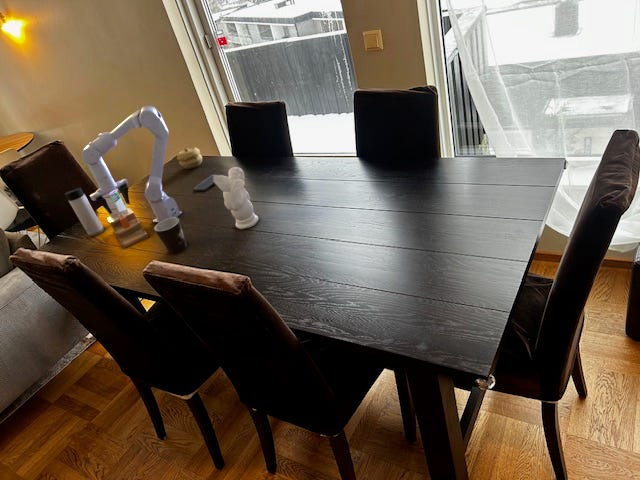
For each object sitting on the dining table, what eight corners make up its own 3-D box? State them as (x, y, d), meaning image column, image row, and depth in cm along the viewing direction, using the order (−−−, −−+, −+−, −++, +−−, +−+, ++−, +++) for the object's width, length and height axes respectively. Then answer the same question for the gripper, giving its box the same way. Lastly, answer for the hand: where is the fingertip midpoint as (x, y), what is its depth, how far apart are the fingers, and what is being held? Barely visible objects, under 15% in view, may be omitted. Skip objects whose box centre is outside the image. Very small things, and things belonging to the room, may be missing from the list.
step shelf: (148, 237, 171) (141, 222, 168) (124, 248, 167) (116, 234, 164) (137, 221, 186) (130, 207, 183) (114, 231, 182) (106, 217, 179)
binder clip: (130, 226, 173) (125, 215, 171) (124, 229, 172) (119, 218, 170) (128, 222, 177) (122, 212, 174) (122, 225, 176) (116, 215, 173)
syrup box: (122, 218, 192) (106, 188, 184) (111, 220, 193) (95, 190, 186) (130, 212, 196) (114, 182, 189) (118, 213, 198) (103, 183, 190)
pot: (178, 173, 225) (170, 154, 220) (187, 163, 234) (180, 145, 229) (199, 169, 222) (191, 151, 217) (207, 160, 231) (200, 141, 226)
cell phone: (224, 176, 206) (224, 174, 206) (205, 190, 197) (204, 189, 196) (213, 175, 210) (212, 174, 209) (193, 190, 200) (192, 188, 200)
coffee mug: (177, 257, 153) (165, 232, 147) (161, 253, 157) (149, 229, 152) (200, 238, 160) (190, 214, 155) (184, 235, 165) (174, 212, 160)
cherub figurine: (252, 213, 168) (233, 159, 156) (272, 220, 159) (253, 163, 148) (226, 229, 162) (204, 174, 150) (245, 237, 153) (224, 179, 142)
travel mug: (89, 238, 182) (63, 195, 172) (88, 232, 188) (63, 190, 177) (104, 232, 184) (80, 189, 174) (103, 226, 189) (79, 184, 179)
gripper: (88, 187, 162) (106, 219, 169) (124, 169, 170) (140, 201, 177) (81, 184, 167) (99, 215, 174) (117, 167, 174) (132, 198, 181)
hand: (119, 208), depth 175 cm, fingers open, 7 cm apart
